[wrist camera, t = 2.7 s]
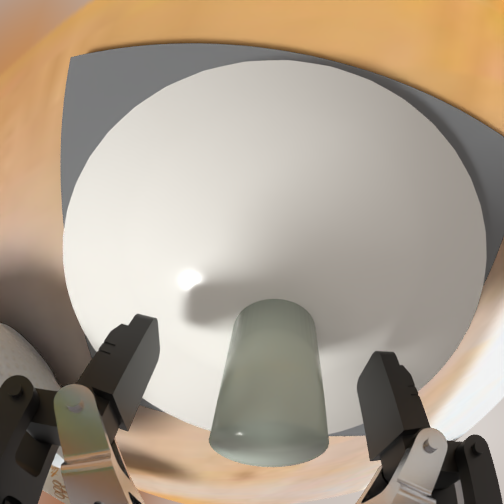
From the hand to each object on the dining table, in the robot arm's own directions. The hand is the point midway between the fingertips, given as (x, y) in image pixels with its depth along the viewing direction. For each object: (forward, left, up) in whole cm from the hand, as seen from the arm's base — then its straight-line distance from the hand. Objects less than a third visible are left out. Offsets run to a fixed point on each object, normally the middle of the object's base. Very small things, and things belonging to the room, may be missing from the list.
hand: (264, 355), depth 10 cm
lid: (0, 0, -2) cm, 2 cm away
